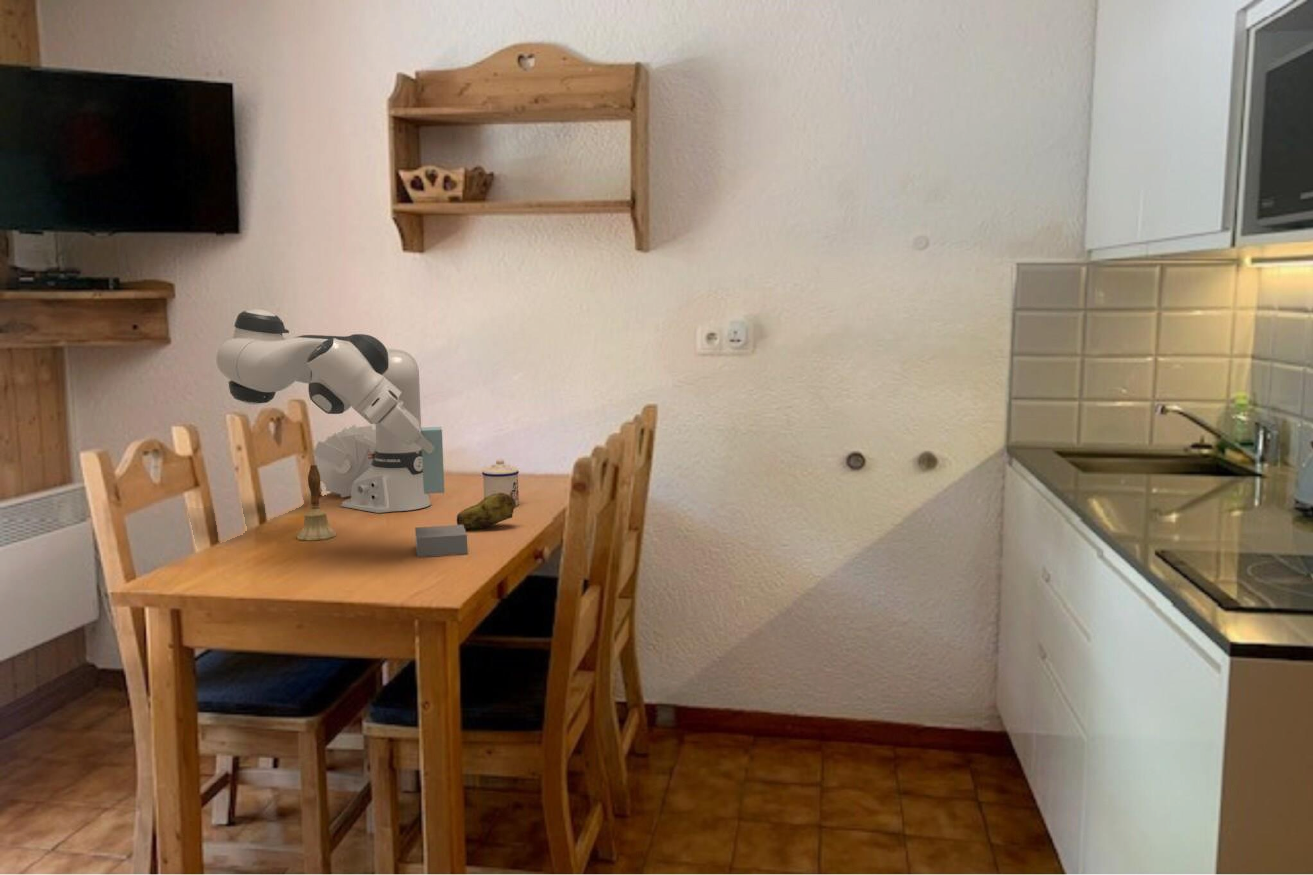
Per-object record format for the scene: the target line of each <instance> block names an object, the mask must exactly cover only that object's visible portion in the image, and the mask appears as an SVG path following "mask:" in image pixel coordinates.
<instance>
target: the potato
mask: <svg viewBox="0 0 1313 875" xmlns="http://www.w3.org/2000/svg"><path fill="white" fill-rule="evenodd" d="M515 504H516V503H515V500H514V498H513V497H511V496H510V495H507V494H505V493H497V494H492V495H490V496H488V497H486V498H484V497H483V499H482V500H481V501H479V502H478V503H477V504H474V505H472V506H469V507H467V508H464V509H463V510H461V511H460V512H458V513H457V515H456V525H464V528H465V530H470V529H485V528H490V527H492V526H495V525H497V524H498V523H500V522H504V521H507V520H509V519H512V518H513V517H514V516H513V514H514V510H515V508H516V506H515Z"/></svg>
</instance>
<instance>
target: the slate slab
mask: <svg viewBox="0 0 1313 875" xmlns="http://www.w3.org/2000/svg"><path fill="white" fill-rule="evenodd" d="M414 530H415V531H414V532H415V549H416V556H417V558H425V557H426V558H428V557H427V556H431V557H442V556H441V555H446V556H451V555H450V554H460V555H468V534H467V531H466V529H465V528H464V525H458V524H452V525H451V524H448V525H438V526H437V525H436V526H435V525H434V526H422V527H421V526H418V527H416V526H415V527H414Z"/></svg>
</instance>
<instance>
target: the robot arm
mask: <svg viewBox="0 0 1313 875" xmlns="http://www.w3.org/2000/svg"><path fill="white" fill-rule="evenodd" d="M234 327H235V328H234V331H233V336H232V338H231V339H230V338H229V339H228V340H227V341H225V342H223V343H222V344H221V346H220V347H219V349H218V350H217V354H216V365H217V368H218V370H219V372H220V373H222V375H223V376H225V377H226V378H227V379H229V380H228V387H229V388H228V389H229V393H230V394H231V396H232V397H233V399H235V400H237V401H239V402H241V403H244V404H245V405H261V404H266V403H269V402H271V401H272V400H273V399H274V398H275V396H276V393H277V392H279V391H283V390H286V389H287V388H288V387H289V386H291V385H293V384H294V383H295V382H298V383H303V384H308V385H307V386H308V389H307V390H308V396H309V398H310V399H309V400H311V401H312V403H313V404H315V406H317V407H318V408H319V409H321V410H322V412H324V413H325V414H327V415H329V414H330V415H340V414H343V413H345V412H346V411H348V410H349V409H350V408H352V409H353V410H354V411H355V413H357V414H358V415H360V416H361V417H362V418H363V419H365V421H367V422H368V423H369V424H370V425H373V424H374V425H375V430H376V446H377V451H376V452H375V453H373V454H369V455H371V457H369V458H368V459H372V458H373V460H372V464H371V465H372V466H371V467H370V468H368V469H367V470H366V471H365V472H364V473H363V474H362V475H360V476H359V477H358V478H357V479H356V480H355V481H354V482H353V484H352V489H351V495H350V498H347V499H345V500H344V501H342V502H341V507H342V508H343V507H344V508H349V509H353V510H354V509H355V510H361V511H365V512H366V511H367V512H370V513H376V514H381V513H389V512H403V511H413V510H418V509H423V508H427V507H429V506H431V504H432V503H431V500H430V496H429V494H424V485H423V462H422V449H424V450H425V451H426V452H427V453H429V454H430V453H432V452H433V450H434V449H435V447H434V445H432V444H431V443H430V442H429V441H428V440H427V439H426V438H425V437H424V436H423V435H422V434H421V428H422V414H421V412H422V410H421V390H420V388H421V387H420V385H421V384H420V370H419V365H418V362H417V361H416V359H415V358H414V356H413V355H412V354H410V353H408V352H407V351H405V350H401V349H397V348H394V349H393V348H387V347H386V346H385V345H384V344H383V342H381V341H380V340H379V339H378V338H376V337H374V336H372V335H369V334H363V333H355V334H351V335H346V336H344V335H343V336H341V335H318V334H303V335H299V336H293V337H291V336H289V337H285V336H284V337H283V334H290V330H288V329H286V328H285V324H284V322H283V321H282V319H281V318H280V317H279V316H278V315H276V314H274V313H272V312H270V311H268V310H266V309H259V308H254V309H248V310H243V311H241V312H240V313H238V314H237V316H236V320H235V322H234ZM369 455H368V456H369Z"/></svg>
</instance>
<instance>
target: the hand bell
mask: <svg viewBox="0 0 1313 875" xmlns="http://www.w3.org/2000/svg"><path fill="white" fill-rule="evenodd" d="M307 483H308V488H309V491H310V509H309V510H308V511H307V512H305V513H304V522H303V527H302V529H301V530H300V532H299V533H298V534H297V535H296V538H297V539H298V540H299V541H314V542H315V541H323V540H329V539H332V538H335V537H336V536H337V533H336V531H335V530H334V529H332V527H331V526H330V524H329V521H328V518H327V517H328V516H327V512H326V511H324V510H323V509H320V502H319V501H320V500H319V498H320V496H319V491H320V487H321V481H320V474H319V471H318V469H317V465H316V464H311V465H310V467H309V472H308V475H307Z"/></svg>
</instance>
